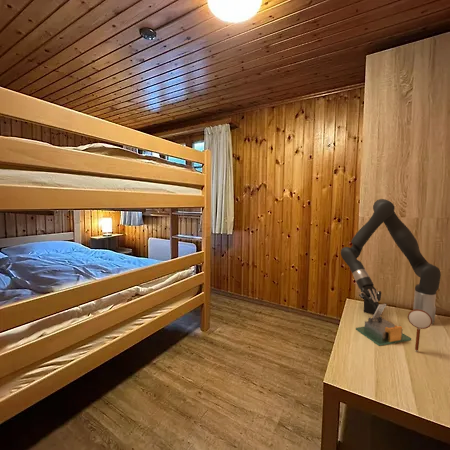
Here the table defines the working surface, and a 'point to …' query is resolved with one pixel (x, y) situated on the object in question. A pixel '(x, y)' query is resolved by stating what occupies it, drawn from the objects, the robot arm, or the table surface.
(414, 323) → the magnifying glass
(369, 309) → the battery
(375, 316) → the light grey flat bar
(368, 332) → the circuit board
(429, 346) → the table surface
